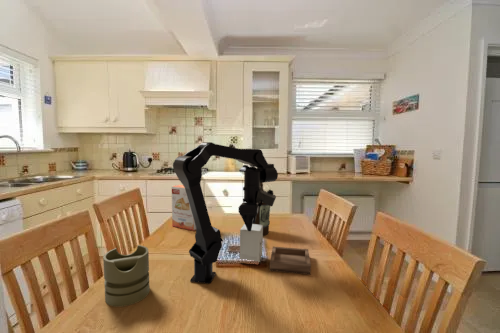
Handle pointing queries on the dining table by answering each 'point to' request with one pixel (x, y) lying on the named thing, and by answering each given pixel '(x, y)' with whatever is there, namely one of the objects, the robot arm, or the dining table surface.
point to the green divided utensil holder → (126, 277)
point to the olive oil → (263, 216)
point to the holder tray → (290, 260)
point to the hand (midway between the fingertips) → (251, 226)
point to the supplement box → (251, 242)
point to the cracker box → (181, 209)
